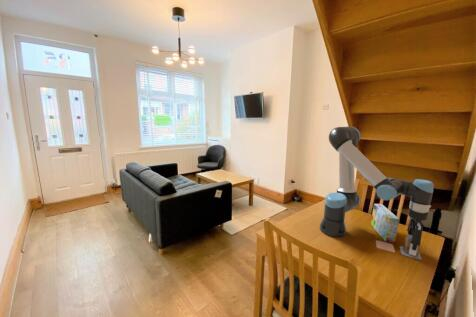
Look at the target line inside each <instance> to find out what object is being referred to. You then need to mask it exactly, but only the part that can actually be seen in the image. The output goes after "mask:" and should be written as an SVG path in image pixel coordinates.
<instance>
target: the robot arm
mask: <svg viewBox="0 0 476 317" xmlns="http://www.w3.org/2000/svg"><path fill="white" fill-rule="evenodd" d="M360 140H361V132H360V131H359V129H357V128H356V127H354V126H337V127H334V128H333V129H331V131H330V132H329V134H328V141H329V144H330V145H331V146H332V147H333V149H334V150H335V151H336V152H337V153H339V154H338V161H339V162H338V164H339V166H338V167H339V168H338V175H339V178H338V181H339V184H338V185H339V186H338V187H337V188H336V192H329V193H328V194H326V196H325V199H324V200H325V201H324V209H323V210H324V211H323V218H322V219H321V222H320V224H319V230H320V231H321V232H322V233H323V234H324V235H327V236H329V237H332V238H333V237H335V238H343V237H345V236H346V235H347V228H346V224H345V218H346V217H345V216H346V213H348V212H350V211H353V210H354V209H356V208H357V207H359V205H360V203H361V198H360V195H359V194H358V190H357V189H356V188H355V169H356V170H357V172H359V173H360V174H361V176H362V177H364V178H365V180H367V182H369V184H371V186H372V187H373V188H374V189H375V190H376V195H377V197H378V198H379V199H381V200H382V201H390V200H393V199H395V198H396V197H398V196H400V195H401V196H402V195H403V196H406V197H410V201H409V206H408V207H409V208H408V212H407V216H409V222H408V225H407V228H406V229H407V230H406V231H407V235H408V236H412V242H410V243H411V245H410V250H409V254H411V255H414V256H416V253H417V248H418V245H419V246H420V247H421V241H422V235H423V229H424V226H423V222H422V221H427V220H428V218H429V217H428V216H429V212H430V211H429V210H430V208H431V207H432V205H431V202H432V198H433V193H434V182H432V181H430V180H426V179H419V178H418V179H417V178H416V179H414V180H413V181H408V180H404V179H398V178H396V177H395V178H393V177H387V176H385V174H383V172H381V171H380V170H379V169H378V167H377V166H375V164H373V163H372V161H370V160H369V159H368V158H367V157H366V155H364V154H363V153H362V152H361V151H360V150H359V149H358V142H359V141H360Z"/></svg>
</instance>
